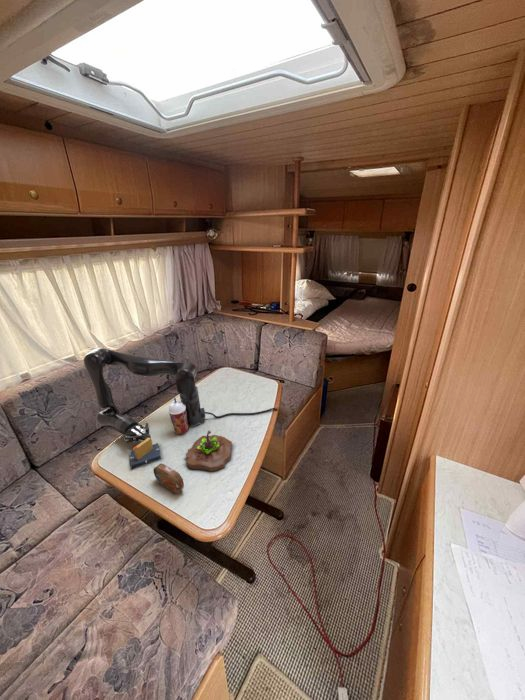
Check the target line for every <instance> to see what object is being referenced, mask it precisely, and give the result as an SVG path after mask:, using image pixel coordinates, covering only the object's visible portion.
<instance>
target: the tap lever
mask: <svg viewBox="0 0 525 700" xmlns="http://www.w3.org/2000/svg"><path fill="white" fill-rule="evenodd" d="M132 449H133V451H134V453H135V456H136V459H137V460H139V459H141V458H142V457H143V456H145V455H146V454H147V453H148V452H150V451H151V450H152V449H153V441H152V437H151V438H149V437H148V438H147V439H146V440H144V441H143V440H142V441H141V442H140V443H139V444H137V445H136V446H134V447H133V448H132Z"/></svg>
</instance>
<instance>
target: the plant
mask: <svg viewBox="0 0 525 700" xmlns="http://www.w3.org/2000/svg"><path fill="white" fill-rule="evenodd" d="M210 434H212V431H211V430H208V431H207V434H206V435H201V436H200V437H198V439H197V440H195V441H194V442H193V444H192V446H191V447H190V448H189V449H187V453H186V454H185V457H186V460H185V463H186V465H187V467H188V468H190V469H191V470H205V471H208V472H215V471H219V470H222V469H224V468H225V466H226V463H228V462H229V461H231V456H232V450H233V442H232V441H231V440H229V439H228V438H226V437H225V436H222V435H218V434H212V435H210Z"/></svg>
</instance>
